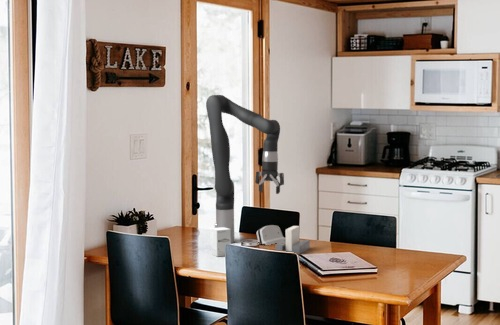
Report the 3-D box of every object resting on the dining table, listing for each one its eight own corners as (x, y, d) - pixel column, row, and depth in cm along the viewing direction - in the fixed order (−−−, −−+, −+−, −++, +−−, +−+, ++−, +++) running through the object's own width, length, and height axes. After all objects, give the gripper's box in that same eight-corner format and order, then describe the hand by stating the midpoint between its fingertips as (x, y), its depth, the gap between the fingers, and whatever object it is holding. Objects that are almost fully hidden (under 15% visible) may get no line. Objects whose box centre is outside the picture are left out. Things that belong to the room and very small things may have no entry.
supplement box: (217, 257, 372) (216, 230, 371) (210, 254, 378) (209, 228, 377) (231, 255, 375) (230, 228, 374) (224, 252, 382) (223, 226, 381)
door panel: (291, 250, 378) (291, 230, 378) (284, 250, 380) (284, 229, 379) (299, 246, 390) (299, 226, 389) (292, 246, 391) (292, 225, 390)
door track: (299, 254, 375) (299, 246, 374) (275, 252, 379) (275, 244, 379) (309, 248, 390) (309, 240, 389) (286, 246, 394) (286, 238, 394)
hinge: (266, 246, 397) (260, 226, 399) (259, 248, 400) (253, 229, 402) (286, 241, 410) (281, 222, 412) (279, 243, 413) (274, 224, 415)
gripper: (253, 160, 393) (253, 193, 394) (281, 161, 387) (280, 194, 389) (259, 159, 400) (258, 191, 401) (286, 160, 394) (285, 193, 396)
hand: (269, 193), depth 395 cm, fingers open, 8 cm apart
